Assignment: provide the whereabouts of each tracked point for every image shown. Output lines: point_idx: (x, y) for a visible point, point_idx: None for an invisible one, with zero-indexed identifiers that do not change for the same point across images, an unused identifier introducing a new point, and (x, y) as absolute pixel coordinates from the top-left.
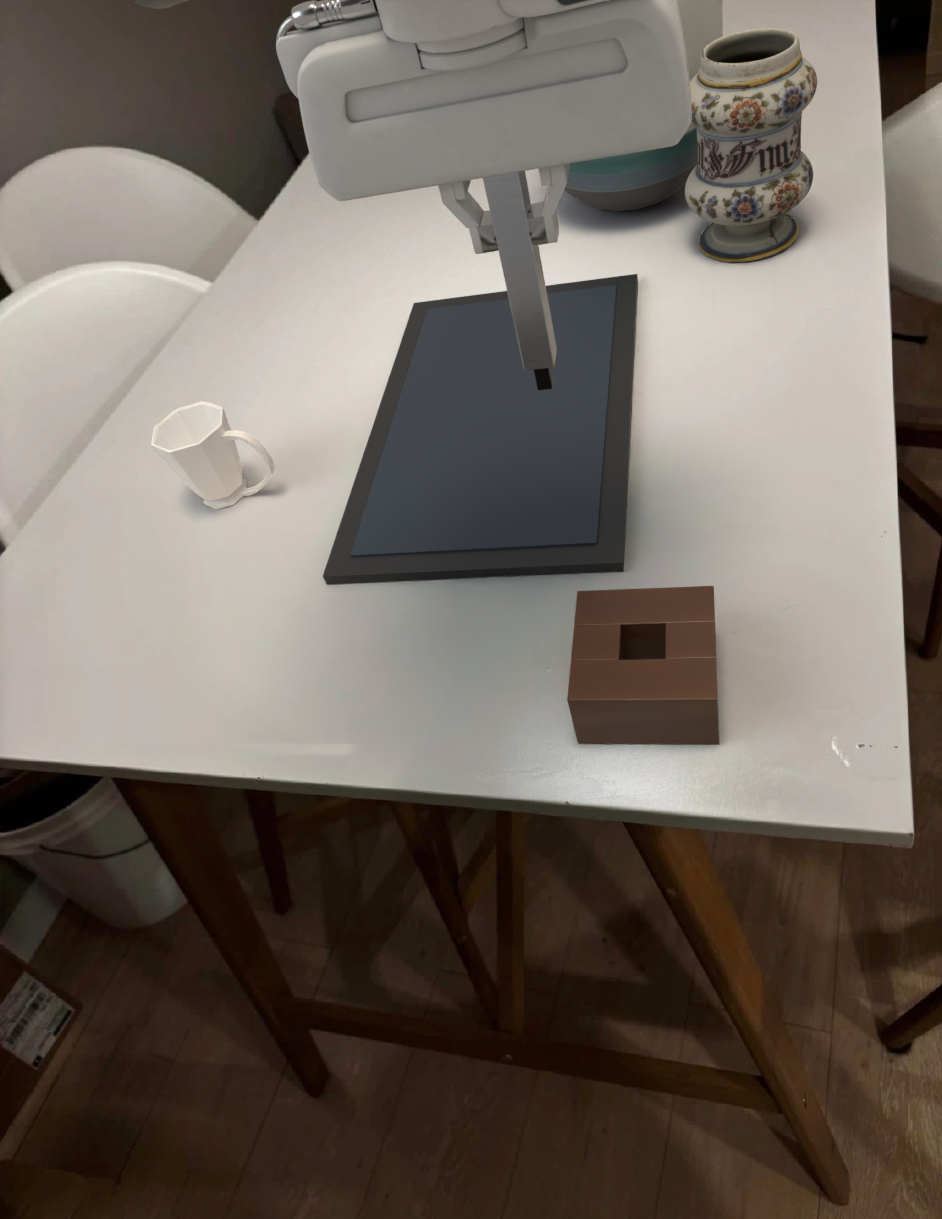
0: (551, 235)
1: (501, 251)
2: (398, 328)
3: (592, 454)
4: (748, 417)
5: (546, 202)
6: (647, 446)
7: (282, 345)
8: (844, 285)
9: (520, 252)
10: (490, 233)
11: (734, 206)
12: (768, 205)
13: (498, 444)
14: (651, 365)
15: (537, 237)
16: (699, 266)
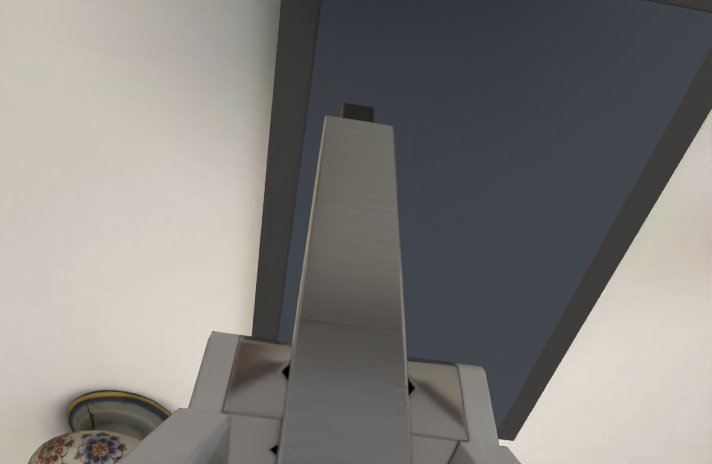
0: (218, 349)
1: (397, 347)
2: (538, 413)
3: (320, 133)
4: (111, 156)
5: (187, 454)
6: (246, 140)
7: (687, 428)
8: (10, 330)
9: (336, 330)
10: (424, 407)
11: (111, 454)
12: (72, 445)
13: (450, 188)
14: (236, 276)
15: (267, 355)
16: (177, 400)
